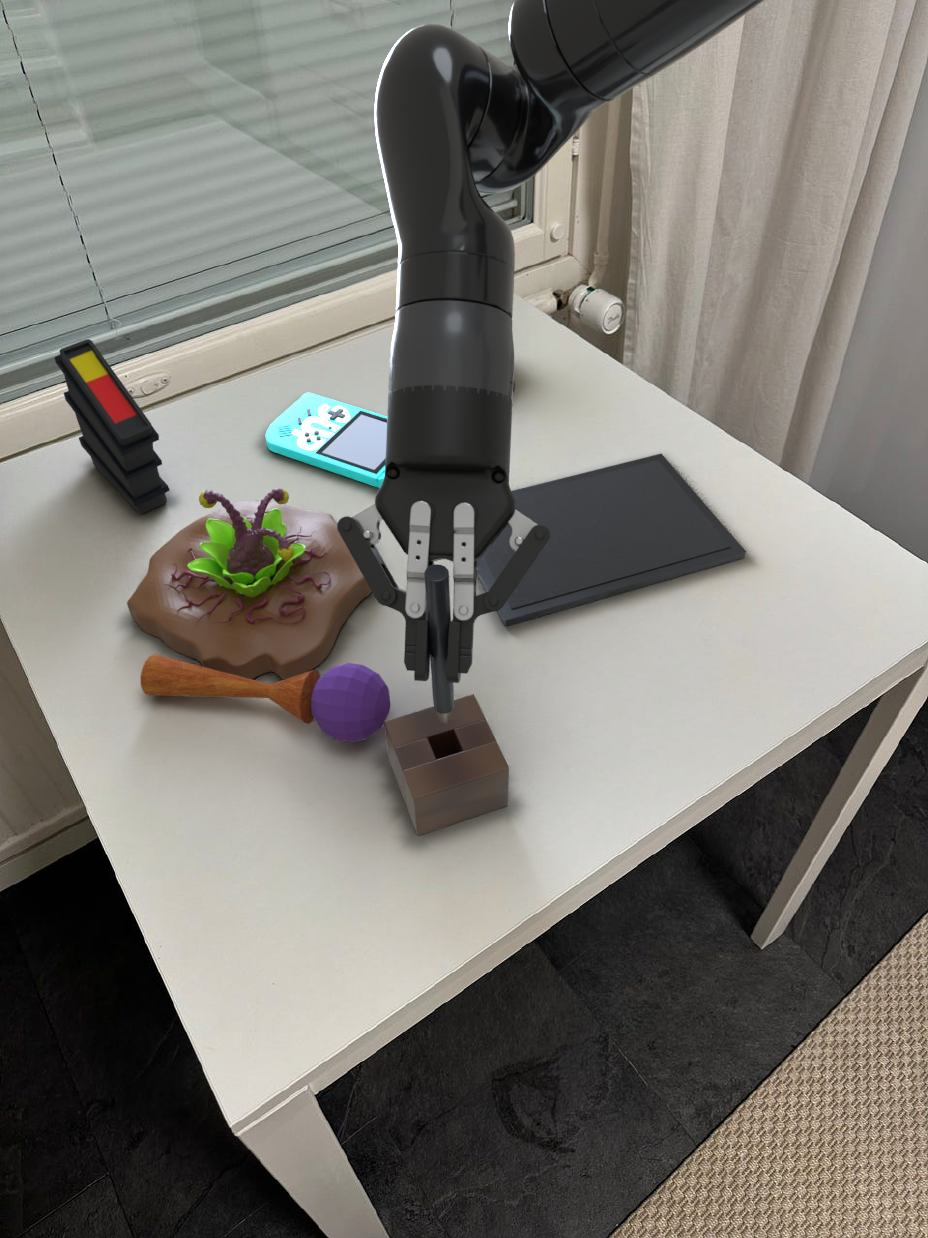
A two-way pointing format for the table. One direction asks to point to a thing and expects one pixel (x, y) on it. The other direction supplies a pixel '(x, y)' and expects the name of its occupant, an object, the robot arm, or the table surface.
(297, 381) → the table surface
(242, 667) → the plant
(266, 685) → the kendama
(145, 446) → the magazine
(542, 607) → the tablet
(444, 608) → the stylus
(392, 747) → the pen stand
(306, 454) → the handheld game console
